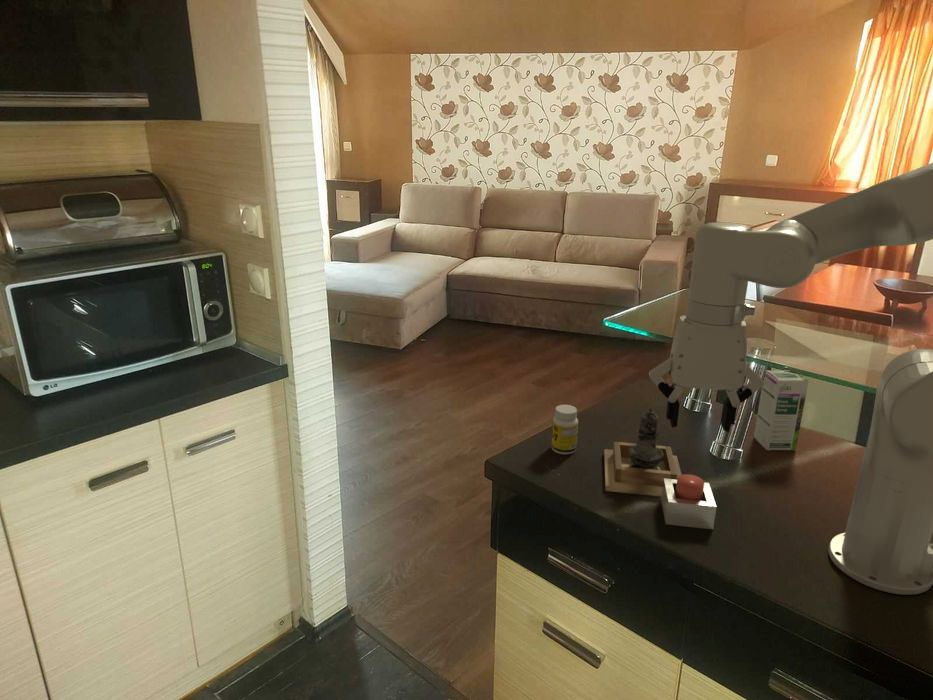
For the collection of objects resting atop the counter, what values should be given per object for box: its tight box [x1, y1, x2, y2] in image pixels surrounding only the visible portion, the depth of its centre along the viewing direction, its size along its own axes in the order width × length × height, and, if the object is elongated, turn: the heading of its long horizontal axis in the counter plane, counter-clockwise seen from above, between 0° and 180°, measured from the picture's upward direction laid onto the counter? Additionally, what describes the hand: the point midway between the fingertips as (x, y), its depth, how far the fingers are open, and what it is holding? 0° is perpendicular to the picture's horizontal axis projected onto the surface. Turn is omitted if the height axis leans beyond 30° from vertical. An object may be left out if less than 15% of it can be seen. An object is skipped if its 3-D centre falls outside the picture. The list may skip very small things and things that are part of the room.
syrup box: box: [753, 369, 809, 452], centre depth 123 cm, size 6×6×14 cm
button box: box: [660, 478, 718, 530], centre depth 102 cm, size 7×7×4 cm
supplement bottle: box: [550, 404, 579, 455], centre depth 121 cm, size 5×5×8 cm
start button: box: [675, 473, 705, 501], centre depth 101 cm, size 4×4×3 cm
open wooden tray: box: [603, 441, 682, 497], centre depth 113 cm, size 13×13×4 cm
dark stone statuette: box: [628, 407, 663, 470], centre depth 111 cm, size 6×6×12 cm
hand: (698, 424), depth 97 cm, fingers open, 6 cm apart
